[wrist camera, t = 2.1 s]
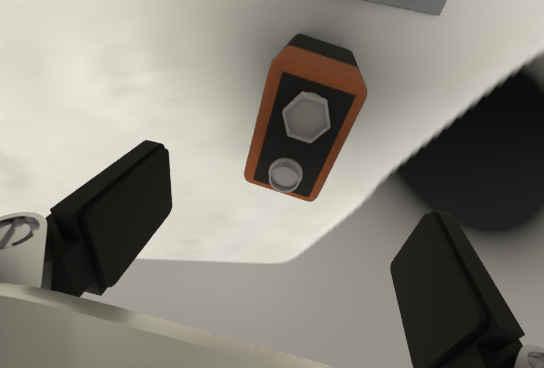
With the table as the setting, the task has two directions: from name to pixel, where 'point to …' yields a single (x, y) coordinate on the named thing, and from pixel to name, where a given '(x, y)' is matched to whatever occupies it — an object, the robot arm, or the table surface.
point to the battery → (304, 117)
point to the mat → (416, 5)
